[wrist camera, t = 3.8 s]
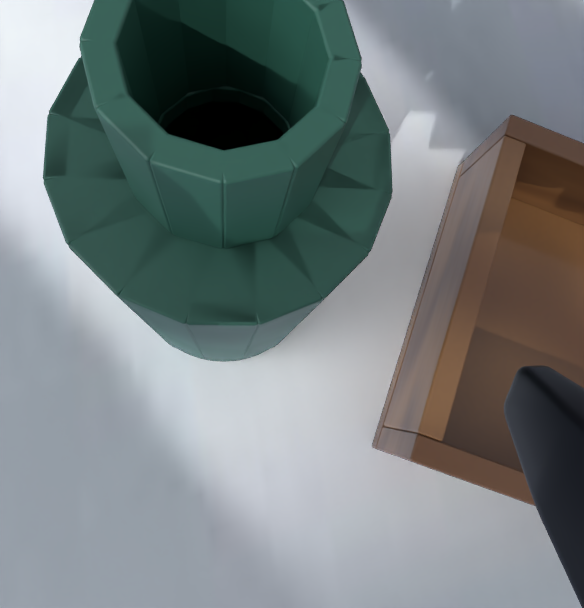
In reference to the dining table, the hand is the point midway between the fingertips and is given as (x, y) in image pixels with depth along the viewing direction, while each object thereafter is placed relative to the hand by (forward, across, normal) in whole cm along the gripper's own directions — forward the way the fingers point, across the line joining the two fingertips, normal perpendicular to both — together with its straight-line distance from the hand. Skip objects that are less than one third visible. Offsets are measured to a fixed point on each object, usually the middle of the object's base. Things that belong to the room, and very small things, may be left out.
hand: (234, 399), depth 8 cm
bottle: (+11, 0, +5) cm, 12 cm away
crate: (+9, -13, +7) cm, 17 cm away
